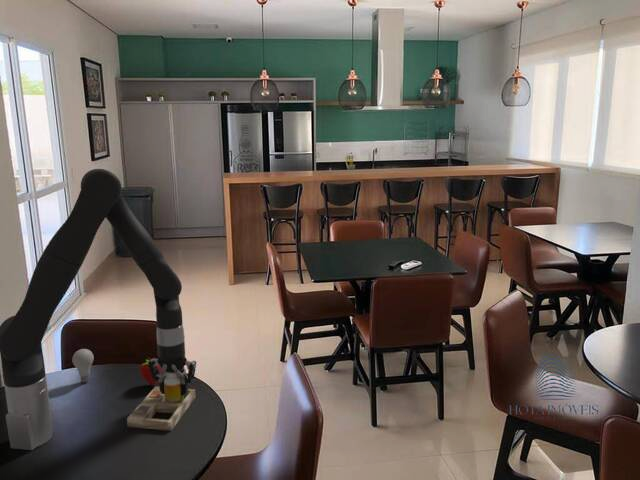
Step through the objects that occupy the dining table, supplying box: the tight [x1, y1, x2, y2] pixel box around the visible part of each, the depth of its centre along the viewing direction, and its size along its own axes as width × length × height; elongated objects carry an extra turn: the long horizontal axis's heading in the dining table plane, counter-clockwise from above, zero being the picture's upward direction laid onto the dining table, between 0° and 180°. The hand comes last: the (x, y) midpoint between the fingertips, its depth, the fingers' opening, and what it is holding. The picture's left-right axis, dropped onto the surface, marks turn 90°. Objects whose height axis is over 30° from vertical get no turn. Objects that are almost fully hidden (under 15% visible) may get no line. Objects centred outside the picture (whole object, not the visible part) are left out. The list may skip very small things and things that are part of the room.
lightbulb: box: [71, 348, 95, 383], centre depth 164 cm, size 6×6×11 cm
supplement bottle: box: [164, 372, 185, 403], centre depth 151 cm, size 5×5×10 cm
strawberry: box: [139, 358, 162, 387], centre depth 161 cm, size 6×8×10 cm
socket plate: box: [126, 385, 197, 432], centre depth 148 cm, size 18×12×3 cm
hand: (174, 393), depth 151 cm, fingers closed on supplement bottle, 5 cm apart
